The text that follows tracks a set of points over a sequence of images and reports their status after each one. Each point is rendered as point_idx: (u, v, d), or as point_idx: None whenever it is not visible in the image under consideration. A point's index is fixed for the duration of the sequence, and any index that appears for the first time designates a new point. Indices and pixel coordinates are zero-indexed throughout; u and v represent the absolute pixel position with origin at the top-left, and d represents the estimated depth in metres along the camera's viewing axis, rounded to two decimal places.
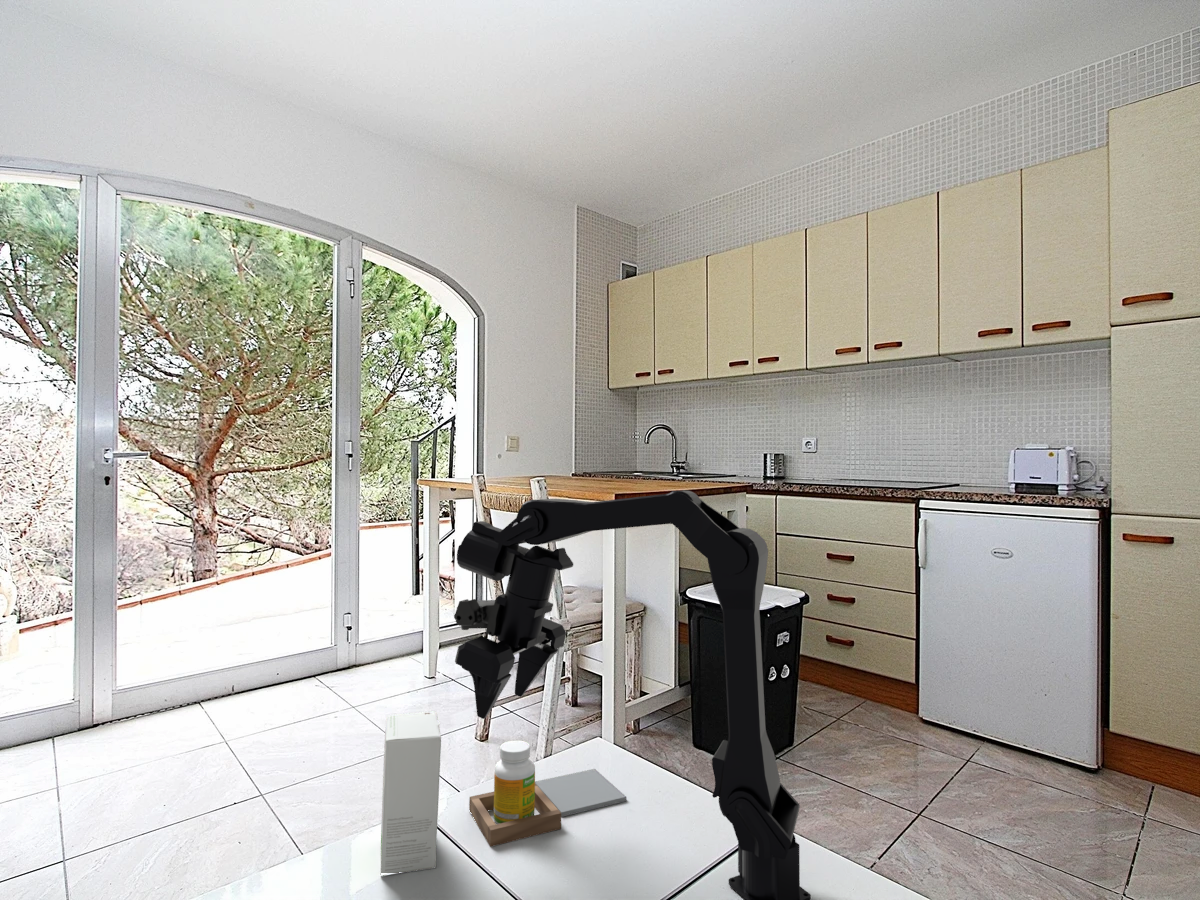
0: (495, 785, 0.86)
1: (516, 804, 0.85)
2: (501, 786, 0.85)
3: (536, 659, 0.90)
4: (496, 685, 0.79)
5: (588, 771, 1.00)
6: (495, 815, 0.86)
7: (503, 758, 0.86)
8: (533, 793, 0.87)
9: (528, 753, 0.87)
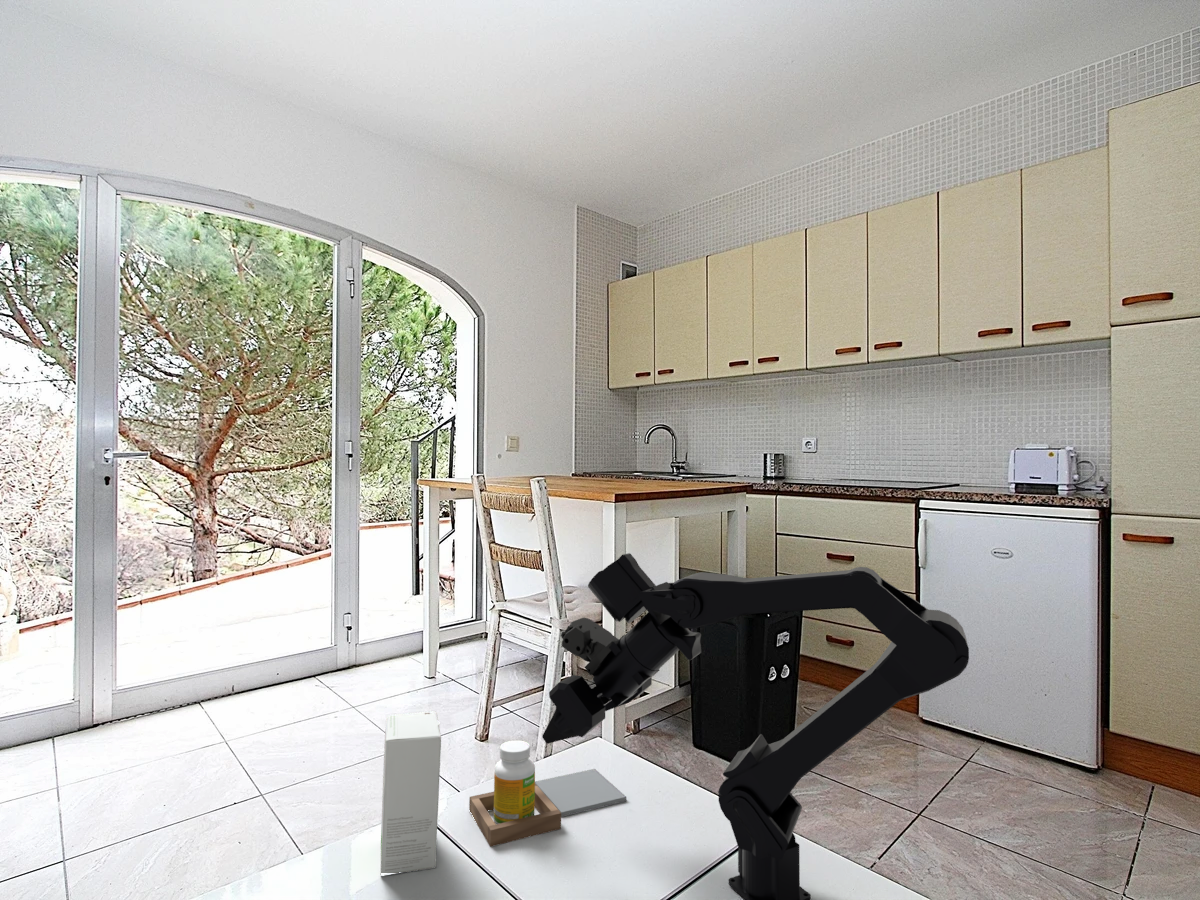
0: (495, 785, 0.86)
1: (516, 804, 0.85)
2: (501, 786, 0.85)
3: None
4: None
5: (588, 771, 1.00)
6: (495, 815, 0.86)
7: (503, 758, 0.86)
8: (533, 793, 0.87)
9: (528, 753, 0.87)
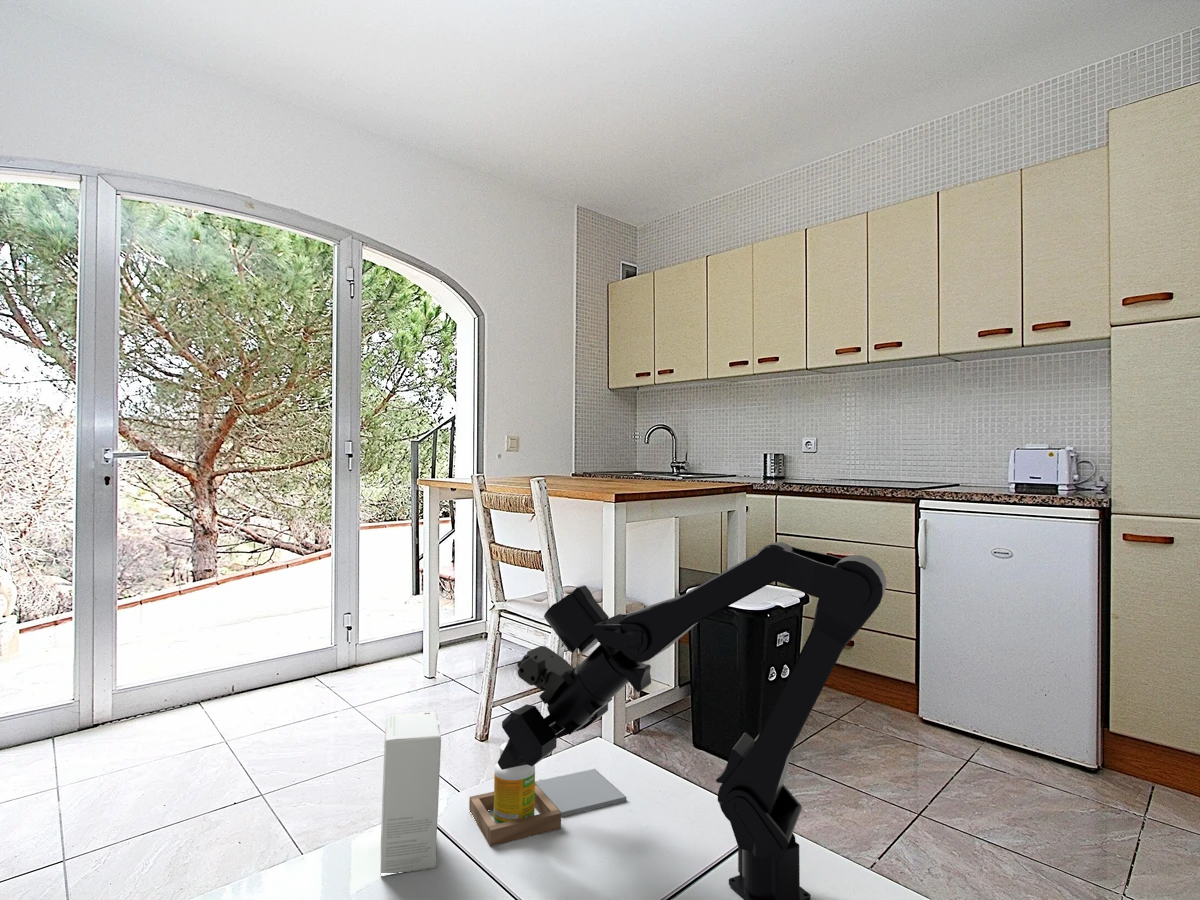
0: (495, 785, 0.86)
1: (516, 804, 0.85)
2: (501, 786, 0.85)
3: None
4: None
5: (588, 771, 1.00)
6: (495, 815, 0.86)
7: None
8: (533, 793, 0.87)
9: None
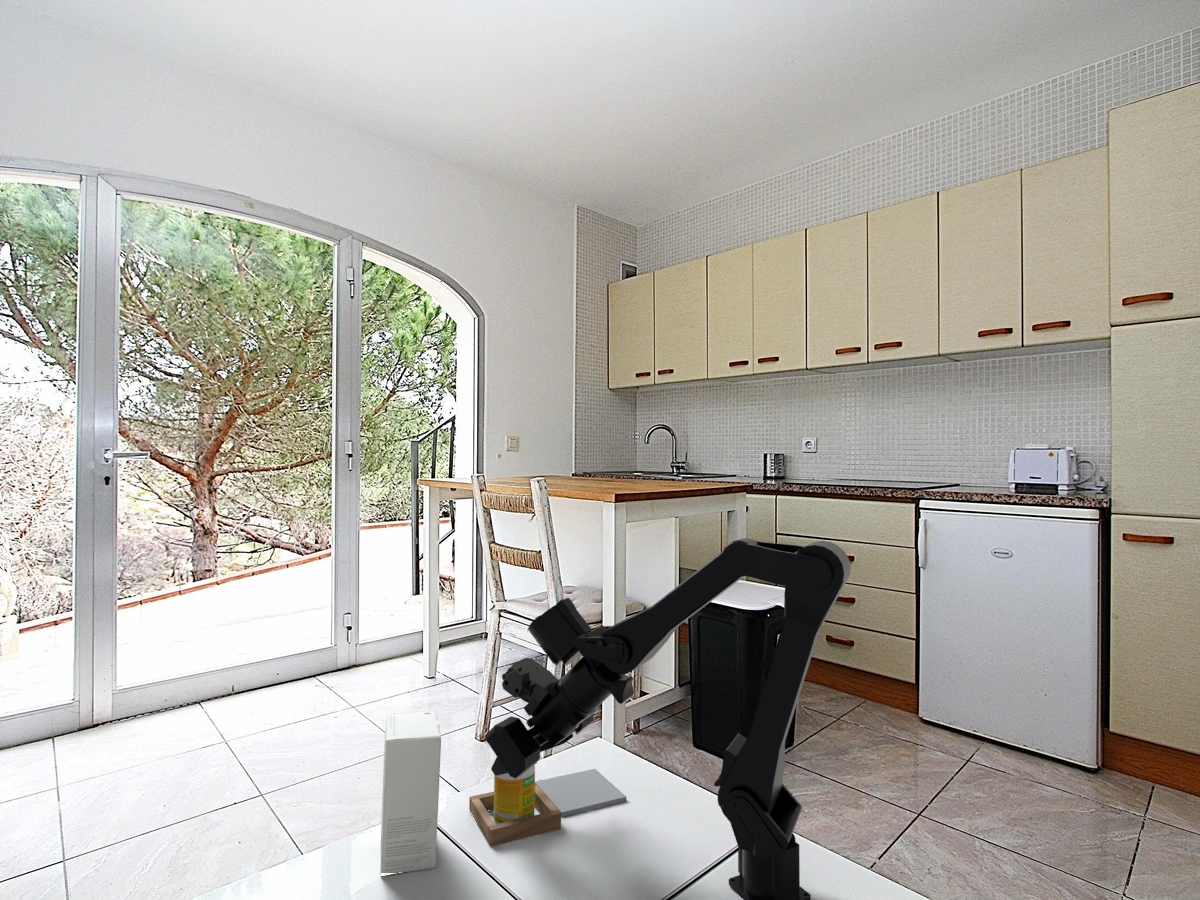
0: (495, 785, 0.86)
1: (516, 804, 0.85)
2: (501, 785, 0.85)
3: None
4: None
5: (588, 771, 1.00)
6: (495, 815, 0.86)
7: None
8: (533, 793, 0.87)
9: None
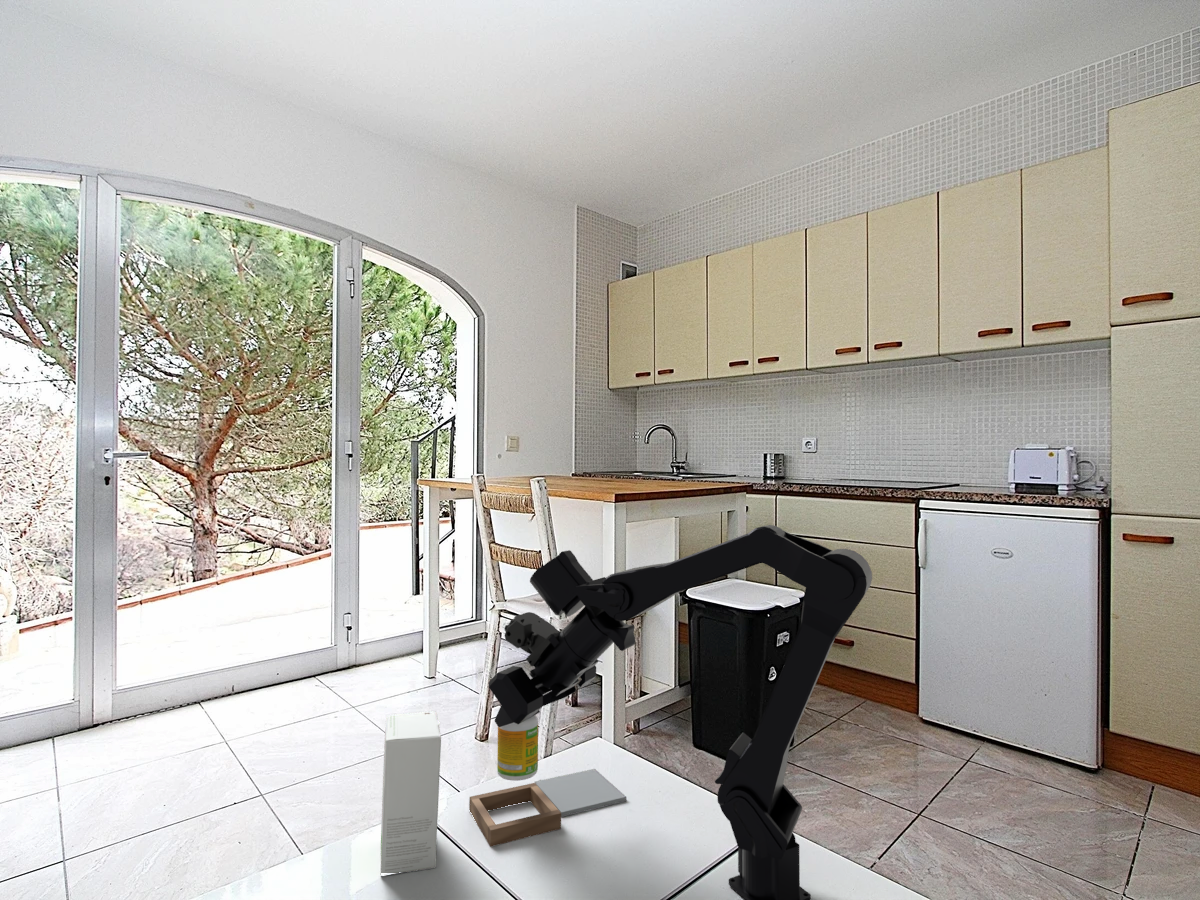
0: (498, 737, 0.87)
1: (519, 755, 0.85)
2: (504, 737, 0.86)
3: (552, 692, 0.89)
4: None
5: (588, 771, 1.00)
6: (499, 767, 0.86)
7: None
8: (536, 745, 0.87)
9: None
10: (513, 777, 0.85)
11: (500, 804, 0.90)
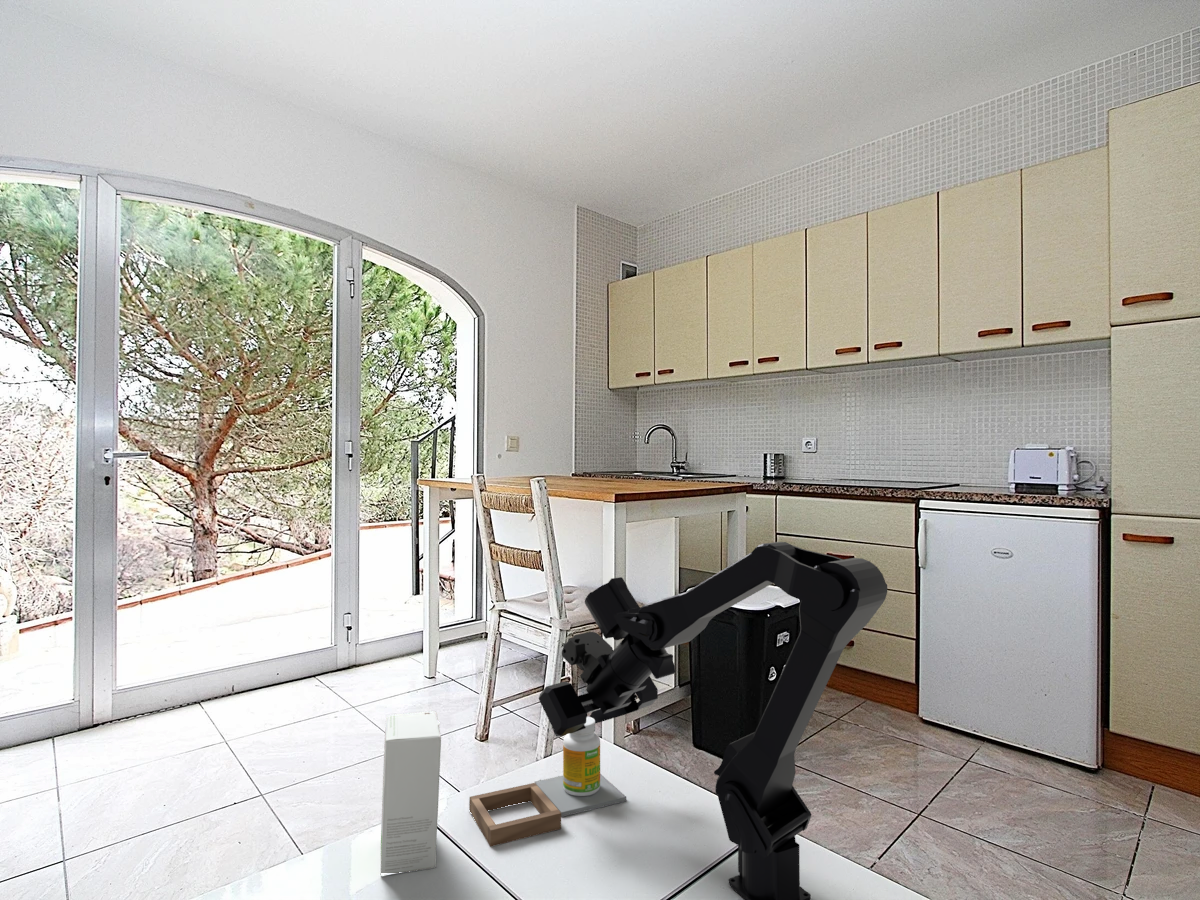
0: (563, 754, 0.95)
1: (579, 773, 0.92)
2: (566, 754, 0.93)
3: None
4: None
5: None
6: (563, 781, 0.94)
7: None
8: (597, 766, 0.93)
9: (592, 728, 0.94)
10: (573, 792, 0.92)
11: (500, 804, 0.90)
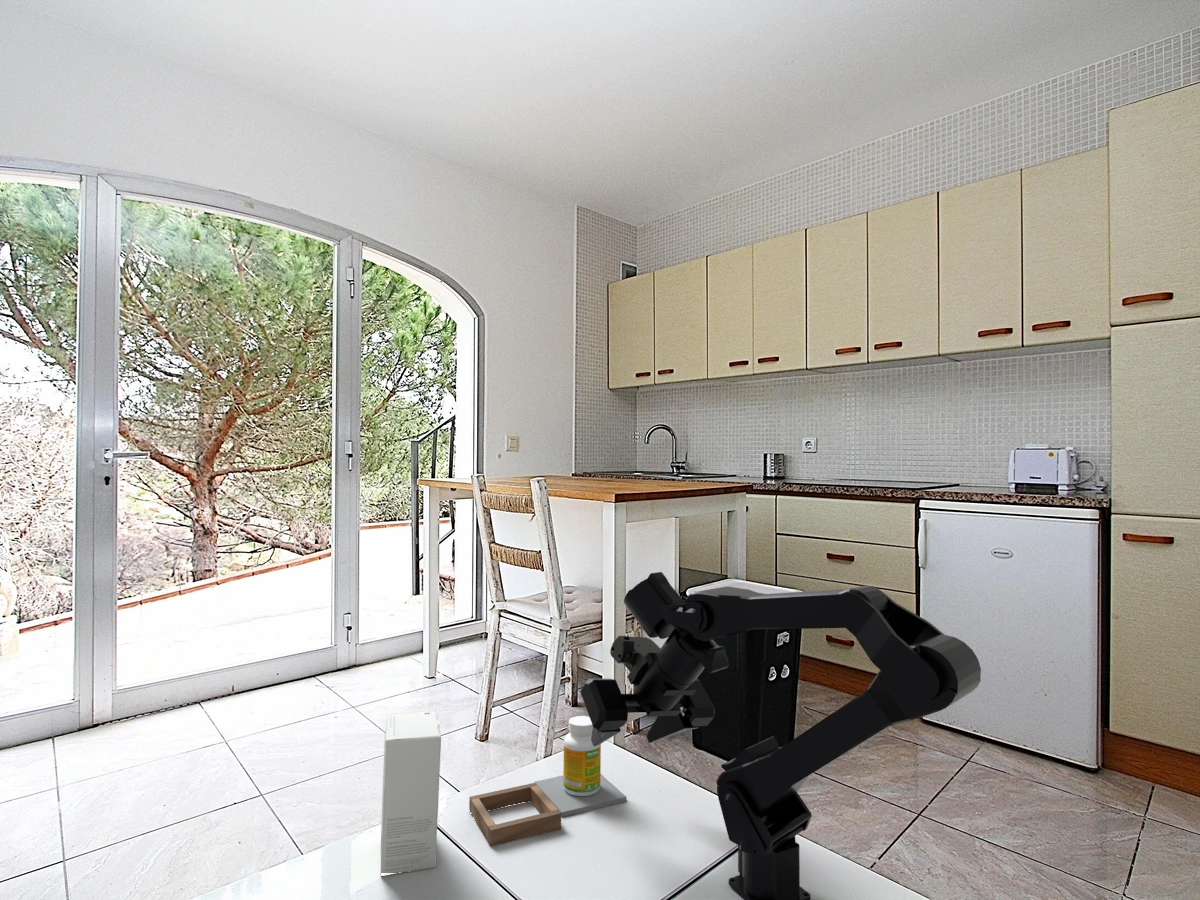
0: None
1: (579, 773, 0.92)
2: (567, 754, 0.93)
3: (673, 722, 0.89)
4: None
5: None
6: (563, 781, 0.94)
7: (570, 730, 0.94)
8: (597, 766, 0.93)
9: None
10: (573, 792, 0.92)
11: (500, 804, 0.90)
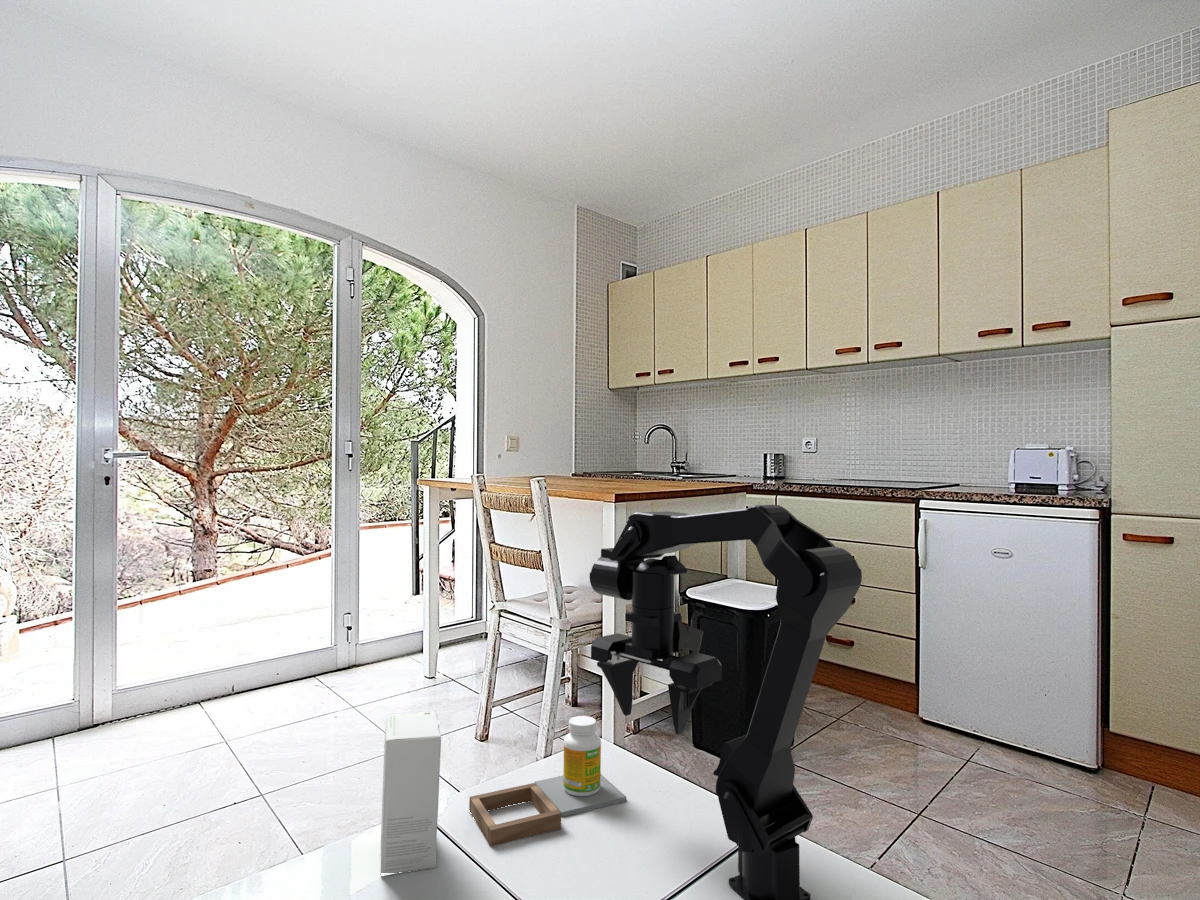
0: (564, 753, 0.95)
1: (579, 773, 0.92)
2: (567, 754, 0.93)
3: None
4: None
5: None
6: (563, 780, 0.94)
7: (570, 730, 0.94)
8: (597, 766, 0.93)
9: (593, 728, 0.94)
10: (573, 792, 0.92)
11: (500, 804, 0.90)
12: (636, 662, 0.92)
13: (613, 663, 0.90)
